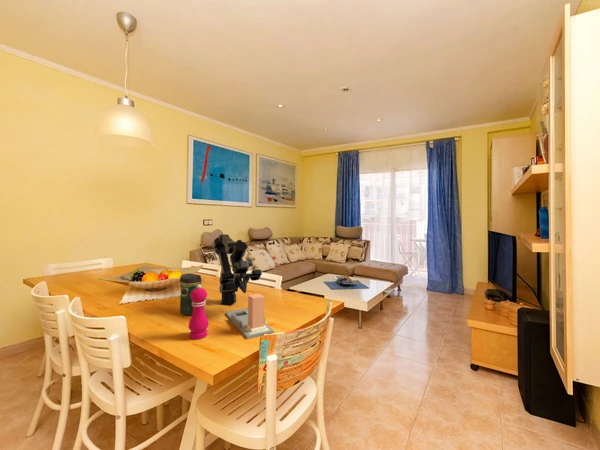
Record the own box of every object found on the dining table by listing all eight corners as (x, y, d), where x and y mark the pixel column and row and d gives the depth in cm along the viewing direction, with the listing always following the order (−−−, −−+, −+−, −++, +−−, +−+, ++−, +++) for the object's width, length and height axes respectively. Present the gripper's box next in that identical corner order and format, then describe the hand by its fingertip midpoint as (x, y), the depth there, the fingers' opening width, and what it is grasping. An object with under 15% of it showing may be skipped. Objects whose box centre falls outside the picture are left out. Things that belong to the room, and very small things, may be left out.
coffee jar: (204, 312, 130) (204, 273, 130) (190, 317, 124) (190, 276, 123) (191, 308, 135) (191, 271, 135) (176, 313, 128) (176, 274, 128)
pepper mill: (191, 332, 107) (192, 282, 107) (210, 331, 108) (210, 281, 108) (185, 340, 100) (185, 286, 100) (205, 340, 101) (206, 286, 100)
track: (225, 313, 128) (225, 307, 128) (248, 310, 134) (248, 304, 134) (247, 338, 102) (247, 331, 102) (273, 332, 108) (273, 325, 108)
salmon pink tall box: (246, 326, 110) (246, 294, 110) (260, 323, 113) (260, 293, 113) (251, 332, 105) (251, 298, 105) (266, 329, 108) (266, 296, 108)
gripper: (221, 254, 120) (227, 285, 111) (260, 252, 130) (269, 280, 120) (216, 269, 127) (222, 299, 118) (254, 266, 137) (262, 293, 127)
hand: (245, 292), depth 121 cm, fingers closed
